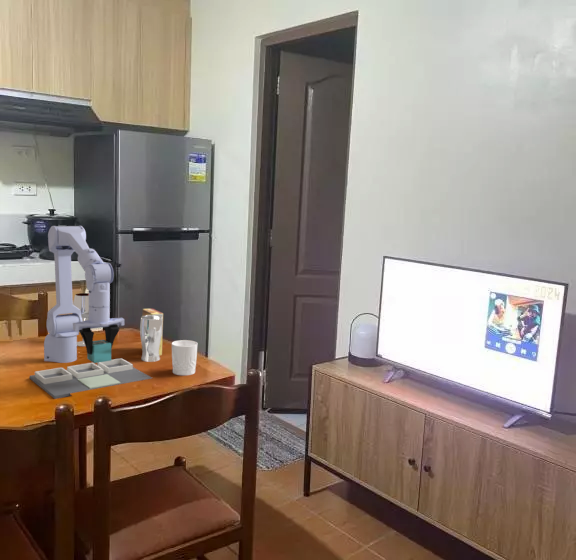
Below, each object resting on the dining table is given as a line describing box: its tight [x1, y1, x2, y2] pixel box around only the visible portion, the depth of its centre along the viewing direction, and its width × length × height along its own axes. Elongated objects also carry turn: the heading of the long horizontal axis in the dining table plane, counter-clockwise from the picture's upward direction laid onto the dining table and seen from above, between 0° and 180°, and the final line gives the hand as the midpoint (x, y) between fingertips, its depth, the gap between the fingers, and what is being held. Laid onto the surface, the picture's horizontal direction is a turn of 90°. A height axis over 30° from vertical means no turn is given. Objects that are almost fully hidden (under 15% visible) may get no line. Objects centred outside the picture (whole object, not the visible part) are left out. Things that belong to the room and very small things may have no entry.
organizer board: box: [29, 357, 153, 400], centre depth 180 cm, size 20×29×2 cm
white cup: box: [171, 339, 198, 376], centre depth 188 cm, size 8×8×10 cm
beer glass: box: [139, 315, 162, 363], centre depth 200 cm, size 7×7×15 cm
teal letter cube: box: [86, 339, 112, 364], centre depth 174 cm, size 5×5×5 cm
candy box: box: [141, 308, 164, 356], centre depth 208 cm, size 9×4×15 cm, turn 36°
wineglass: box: [71, 292, 89, 347], centre depth 216 cm, size 8×8×18 cm
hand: (99, 352), depth 175 cm, fingers closed on teal letter cube, 5 cm apart
